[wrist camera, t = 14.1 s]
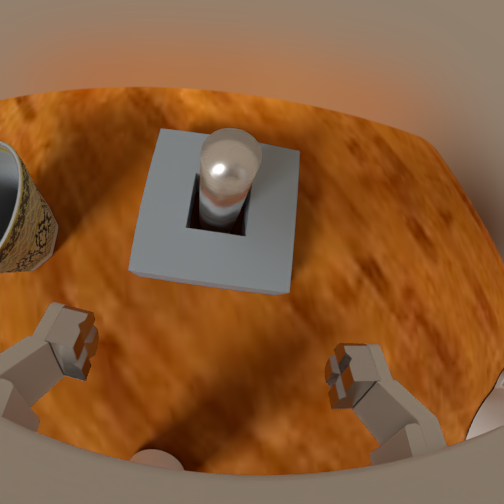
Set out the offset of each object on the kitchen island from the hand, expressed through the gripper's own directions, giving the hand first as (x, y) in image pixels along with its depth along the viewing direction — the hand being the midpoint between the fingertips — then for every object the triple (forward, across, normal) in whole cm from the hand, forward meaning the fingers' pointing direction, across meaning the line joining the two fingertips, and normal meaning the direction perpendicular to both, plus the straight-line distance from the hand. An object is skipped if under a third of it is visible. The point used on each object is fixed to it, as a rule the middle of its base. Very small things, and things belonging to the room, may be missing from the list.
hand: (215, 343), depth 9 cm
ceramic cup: (+16, +19, +7) cm, 26 cm away
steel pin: (+18, 0, +5) cm, 19 cm away
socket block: (+18, 0, +5) cm, 19 cm away
